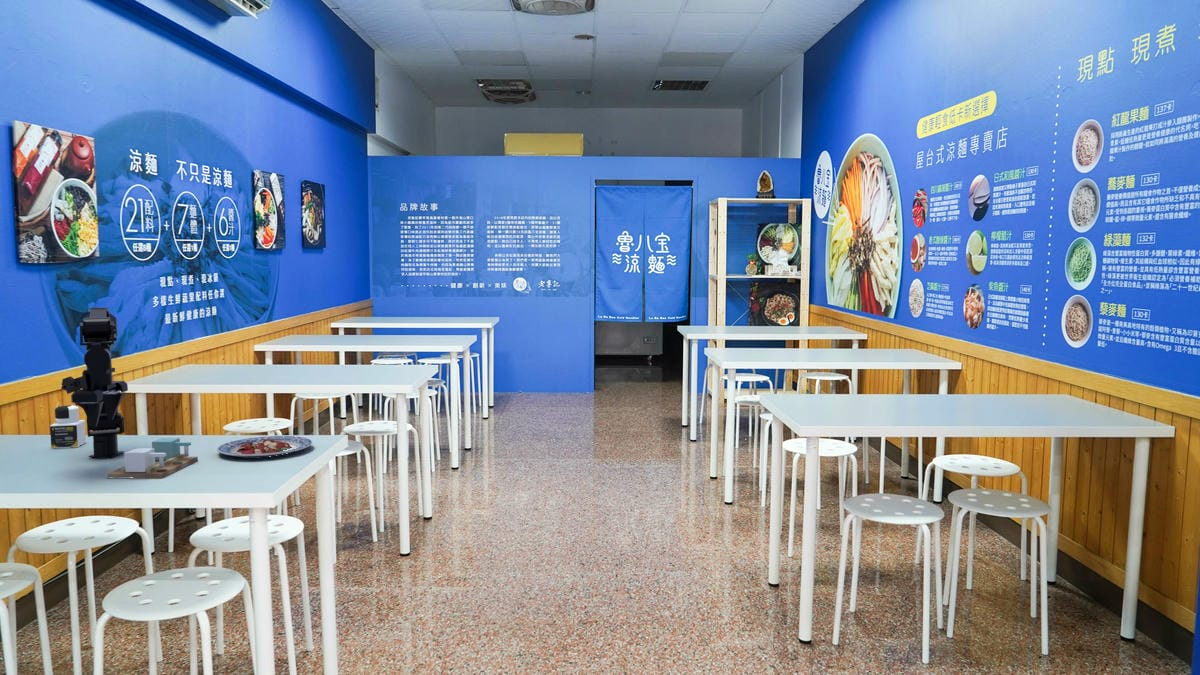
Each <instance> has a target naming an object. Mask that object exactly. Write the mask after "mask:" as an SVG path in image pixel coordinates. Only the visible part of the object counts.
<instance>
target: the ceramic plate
mask: <svg viewBox="0 0 1200 675" xmlns="http://www.w3.org/2000/svg"><path fill="white" fill-rule="evenodd" d="M283 436H284V437H283ZM295 436H296V435H295ZM295 436H293V435H271V436H267V435H266V436H256V437H247V438H241V439H236V440H231V441H229V442H225V443H222V444H220V445H219V446H218V447H217V448H216V450H217V452H218V453H219V454H221V455H224V456H225V455H226V456H232V457H236V458H241V457H243V458H244V459H258V458H257V457H269V456H276V455H282V454H286V453H290V454H292V453H291V452H293V453H295V452H298V451H301V450H304V449H307V448H308V447H310V446H311V445H312V444H313V441H312V440H311V439H310V438H307V437H301V436H296V437H295ZM290 445H294V446H296V447H297V448H296V449H292V450H288V451H283V450H287V449H290V448H292V447H291V446H290ZM294 451H295V452H294ZM269 458H270V457H269Z"/></svg>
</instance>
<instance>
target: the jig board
mask: <svg viewBox="0 0 1200 675" xmlns="http://www.w3.org/2000/svg"><path fill="white" fill-rule="evenodd" d="M198 459H199V457H198V456H188V457H185V453H183V452H181V453H180V454H179V455H177V456H175V457H173V458H170V459H168V460H164V468H160V466H159V460H155V466H153V467H150V468H148V469H146V472H125V465H124V466H122V467H119V468H117V469H114V470H112V471H109V472H107V473H106V478H107V477H133V478H132V479H163V478H166V477H167V476H169V475H172V474H174V473H175V472H178V471H180V470H181V469H184V468H186V467H188V466H190V465H192V464H194V463H196V462H198V461H199V460H198Z"/></svg>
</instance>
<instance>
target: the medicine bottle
mask: <svg viewBox="0 0 1200 675" xmlns="http://www.w3.org/2000/svg"><path fill="white" fill-rule="evenodd" d="M54 417H55V418H54V420H55V422H54V423H52V424H50V426H49V430H50V431H49V433H50V448H51V449H55V448H56V449H71V448H70V447H77V448H80V445H81V446H83V445H84V444H86V443H87V438H86V423H85V422H86V421H85V419H80V409H79V406H78V405H75V404H74V405H72V404H71V405H61V406H57V407H56V408H54Z"/></svg>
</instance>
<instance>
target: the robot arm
mask: <svg viewBox="0 0 1200 675" xmlns="http://www.w3.org/2000/svg"><path fill="white" fill-rule="evenodd" d="M117 321H118V319H117V317H116V316H115V315H113V314H112V313H110V309H109V308H107V307H90V308H88V314H86V315H85V317H83V319H82V322H79V345H80V347H81V346H83V347H84V346H86V347H85V353H84V357H83V361H84V365H85V366H86V369H83V371H82V376H79V377H76V378H74V377H73V376H70V375H69V376H67V377H65V378H62V381H61V390H64V391H66V394H67V395H69V394H71V393H72V394H71V395H70V399H71V404H72V403H73V404H74V406H77V407H80V408H81V409H82V410H83V411H84V413H85V416H86V429H87V437H88V438H90V437H92V439H93V440H92V441H93V445H92V446H93V447H92V448H93V453H92V454H91V455H88V458H89V457H111V458H114V457H116V455H117V456H119V455H121V454H123V453H124V450H123V451H122V450H119V447H118V446H119V444H118V443H119V442H118V435H122V434H124V433H126V431H125V417H124V416H123V415H122V413H121V412H119V406H120V405H121V403H122V400H123V398H124V397H125V395H126V392H128V390H129V389H128V387H129V386H128V383H127V382H126V381H125V380H113V373H115V372H116V368H115V367H112V349H113V347H114V346H115V344H116V342H117V340H118V338H117V337H118V322H117Z"/></svg>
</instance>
